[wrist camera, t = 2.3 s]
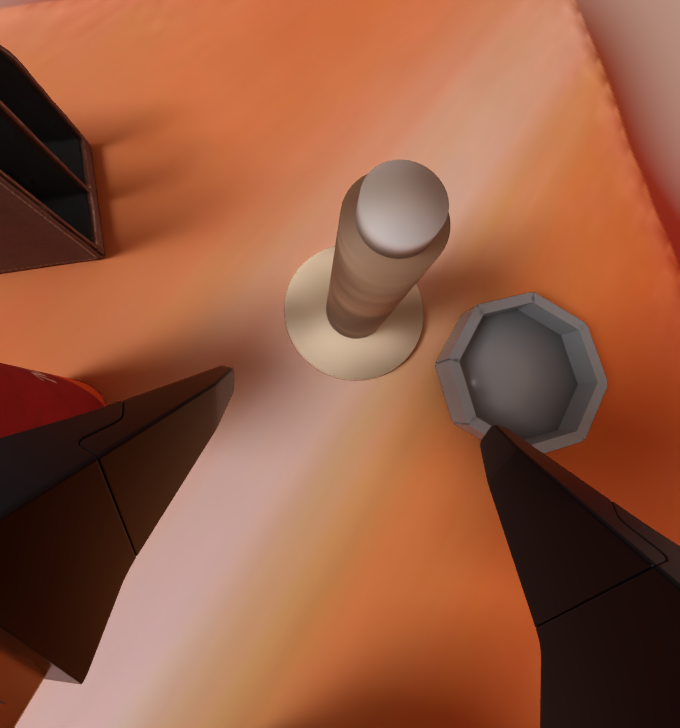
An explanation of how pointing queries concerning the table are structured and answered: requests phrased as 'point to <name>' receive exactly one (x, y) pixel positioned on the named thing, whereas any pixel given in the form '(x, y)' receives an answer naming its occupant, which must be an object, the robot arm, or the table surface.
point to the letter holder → (42, 179)
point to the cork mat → (335, 349)
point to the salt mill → (384, 244)
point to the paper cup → (41, 399)
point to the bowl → (522, 372)
